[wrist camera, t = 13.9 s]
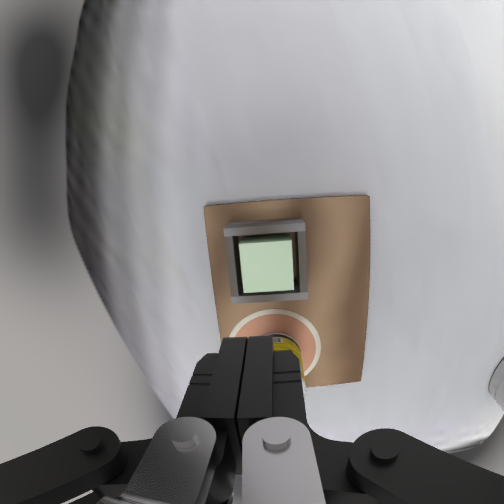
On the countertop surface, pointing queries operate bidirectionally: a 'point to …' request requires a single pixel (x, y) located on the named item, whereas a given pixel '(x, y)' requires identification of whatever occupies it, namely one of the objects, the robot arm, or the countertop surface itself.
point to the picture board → (299, 279)
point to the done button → (266, 263)
